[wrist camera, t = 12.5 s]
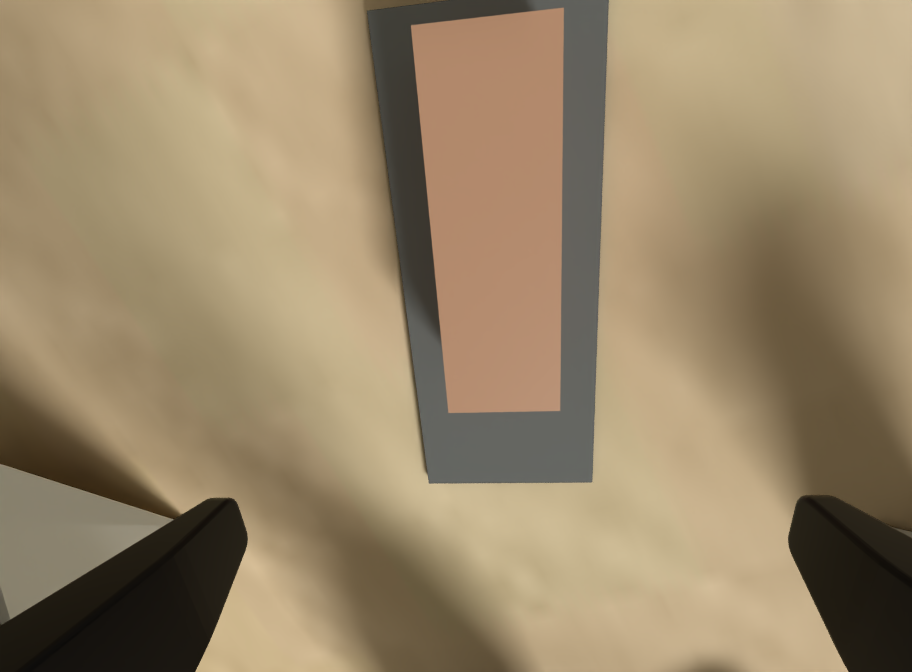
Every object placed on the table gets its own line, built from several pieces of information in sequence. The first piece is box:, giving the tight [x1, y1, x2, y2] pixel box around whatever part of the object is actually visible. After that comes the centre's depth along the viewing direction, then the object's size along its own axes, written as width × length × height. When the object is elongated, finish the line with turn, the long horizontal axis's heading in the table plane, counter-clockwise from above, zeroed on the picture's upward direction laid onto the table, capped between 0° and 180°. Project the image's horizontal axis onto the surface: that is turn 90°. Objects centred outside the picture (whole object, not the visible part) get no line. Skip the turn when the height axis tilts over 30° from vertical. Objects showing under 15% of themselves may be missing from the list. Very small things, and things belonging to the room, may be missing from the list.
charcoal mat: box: [367, 0, 609, 483], centre depth 19 cm, size 20×8×1 cm, turn 5°
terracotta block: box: [411, 8, 564, 413], centre depth 16 cm, size 4×4×12 cm
